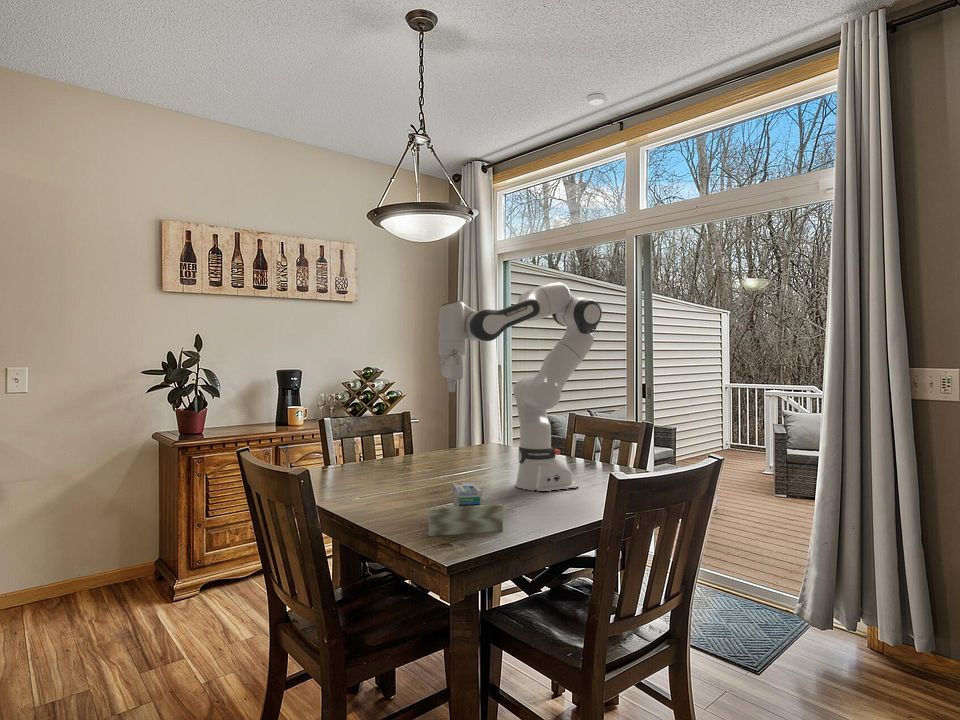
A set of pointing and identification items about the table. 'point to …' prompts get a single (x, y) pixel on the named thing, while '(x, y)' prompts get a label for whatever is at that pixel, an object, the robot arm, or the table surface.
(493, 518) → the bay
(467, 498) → the light bulb box
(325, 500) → the table surface
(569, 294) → the robot arm
